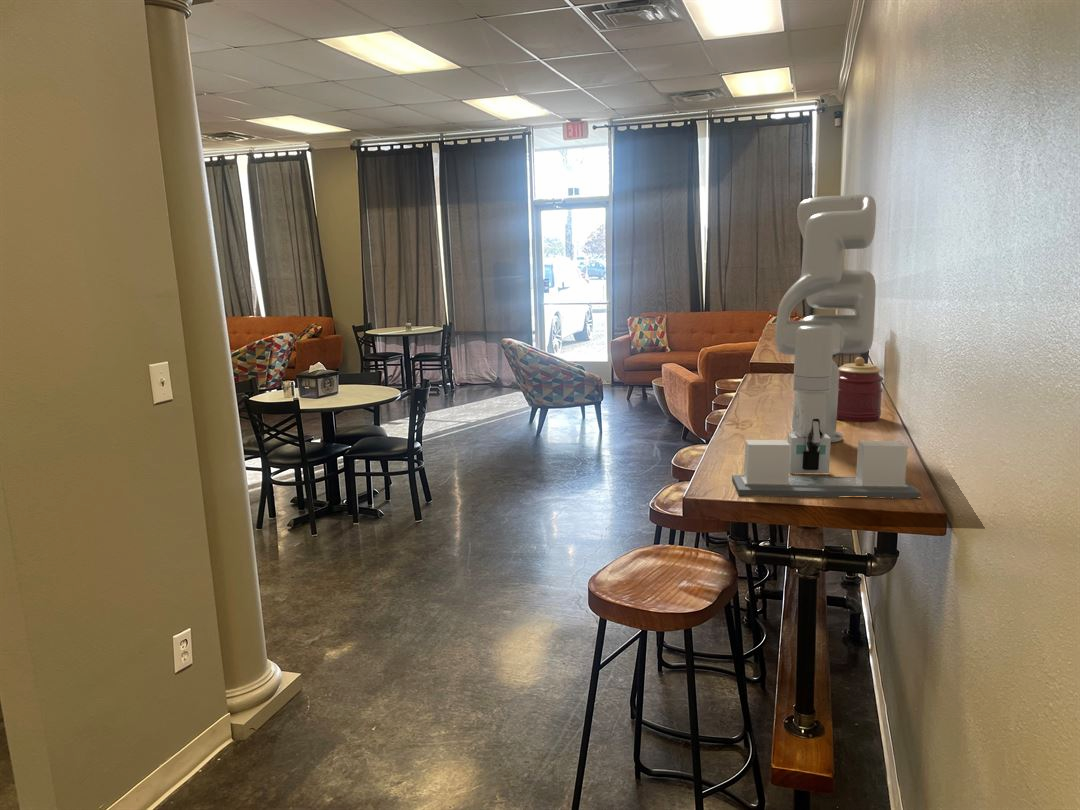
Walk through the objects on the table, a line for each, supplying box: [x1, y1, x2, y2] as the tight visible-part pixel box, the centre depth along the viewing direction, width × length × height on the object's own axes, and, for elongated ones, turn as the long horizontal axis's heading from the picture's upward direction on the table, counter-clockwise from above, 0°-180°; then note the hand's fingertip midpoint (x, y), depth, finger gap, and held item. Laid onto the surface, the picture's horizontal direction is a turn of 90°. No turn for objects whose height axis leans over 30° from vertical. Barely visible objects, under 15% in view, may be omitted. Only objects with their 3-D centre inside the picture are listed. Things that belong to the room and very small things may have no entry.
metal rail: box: [741, 477, 908, 489], centre depth 146 cm, size 5×31×1 cm, turn 83°
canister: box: [837, 356, 885, 423], centre depth 208 cm, size 13×13×18 cm
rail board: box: [731, 474, 922, 499], centre depth 146 cm, size 10×34×1 cm, turn 83°
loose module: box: [787, 433, 832, 475], centre depth 158 cm, size 4×8×8 cm, turn 82°
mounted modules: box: [743, 439, 909, 486], centre depth 145 cm, size 4×30×8 cm, turn 83°
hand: (807, 465), depth 158 cm, fingers closed on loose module, 4 cm apart
